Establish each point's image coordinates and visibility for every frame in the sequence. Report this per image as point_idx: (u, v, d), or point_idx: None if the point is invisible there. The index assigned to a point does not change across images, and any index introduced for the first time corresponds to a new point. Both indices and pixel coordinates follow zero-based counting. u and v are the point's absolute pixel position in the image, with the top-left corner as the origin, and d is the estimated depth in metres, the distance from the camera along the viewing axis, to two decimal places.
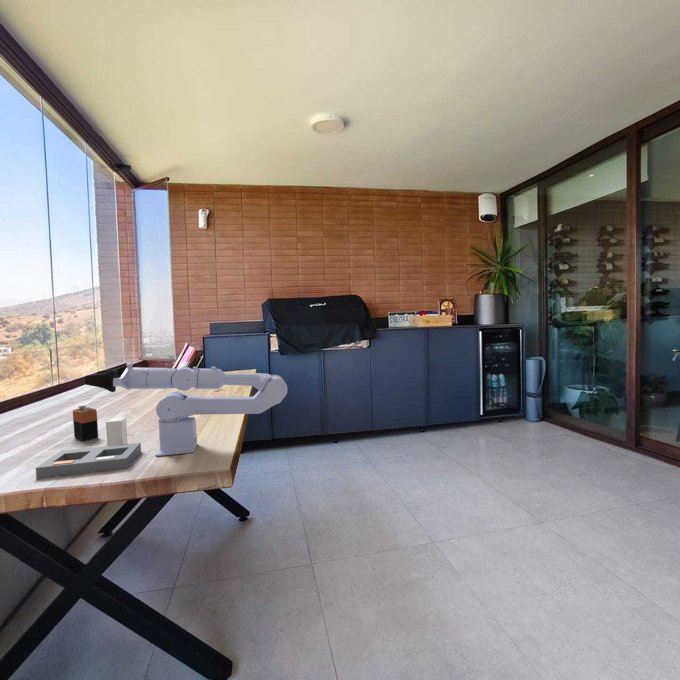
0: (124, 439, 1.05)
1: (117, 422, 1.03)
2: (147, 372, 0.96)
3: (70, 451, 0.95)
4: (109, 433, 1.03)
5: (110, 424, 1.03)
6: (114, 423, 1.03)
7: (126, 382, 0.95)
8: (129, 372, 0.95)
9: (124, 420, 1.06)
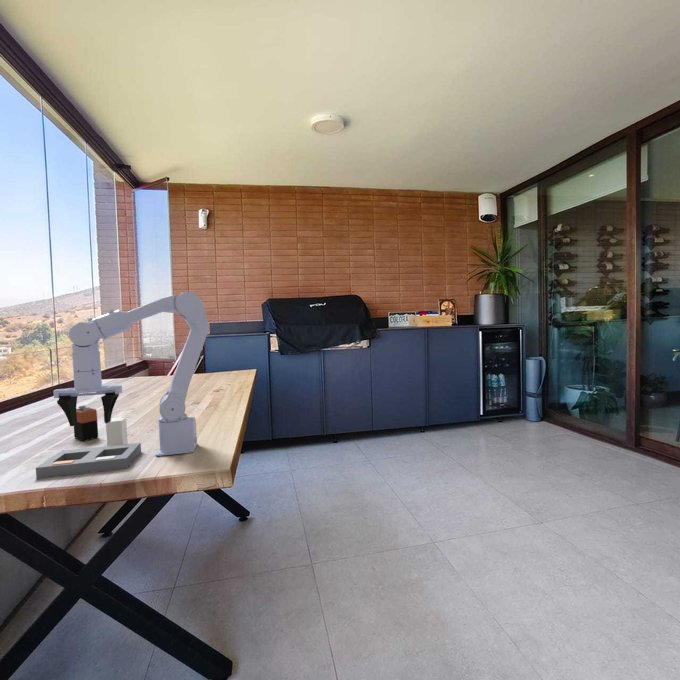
0: (124, 439, 1.05)
1: (117, 422, 1.03)
2: (93, 370, 0.90)
3: (70, 451, 0.95)
4: (109, 433, 1.03)
5: (109, 424, 1.03)
6: (114, 423, 1.03)
7: (102, 387, 0.93)
8: (95, 387, 0.90)
9: (124, 420, 1.06)
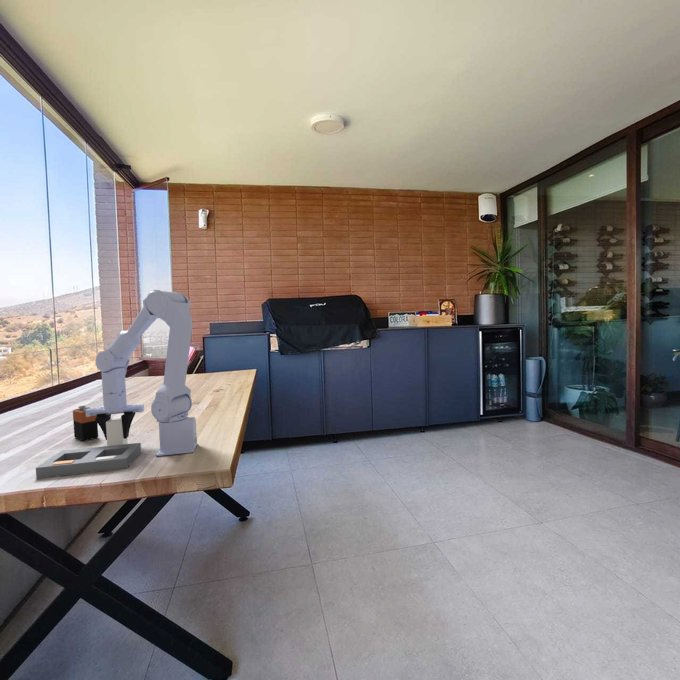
0: (124, 439, 1.05)
1: (117, 422, 1.03)
2: (120, 392, 1.03)
3: (70, 451, 0.95)
4: (109, 433, 1.03)
5: (109, 424, 1.03)
6: (114, 423, 1.03)
7: (127, 406, 1.06)
8: (121, 406, 1.04)
9: None
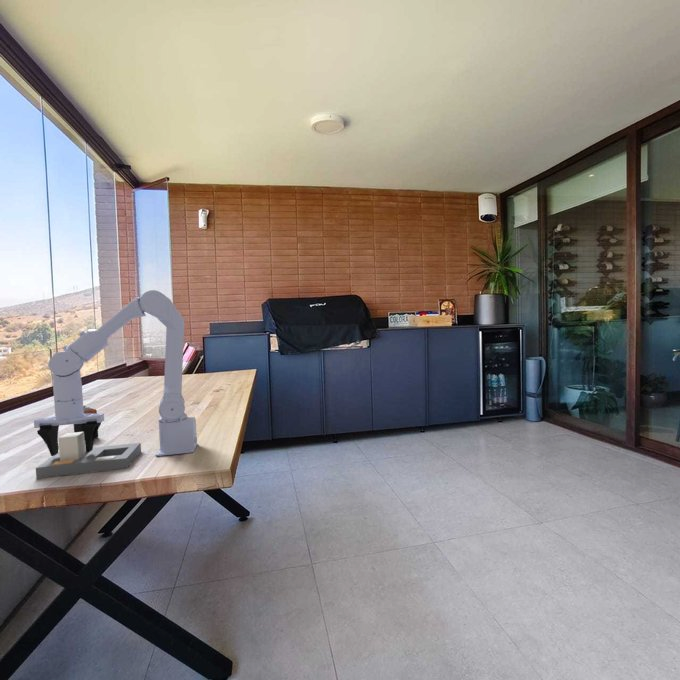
0: (81, 457, 0.92)
1: (72, 438, 0.90)
2: (74, 399, 0.89)
3: None
4: (62, 451, 0.89)
5: (63, 440, 0.89)
6: (68, 439, 0.89)
7: None
8: (76, 416, 0.90)
9: (81, 435, 0.92)
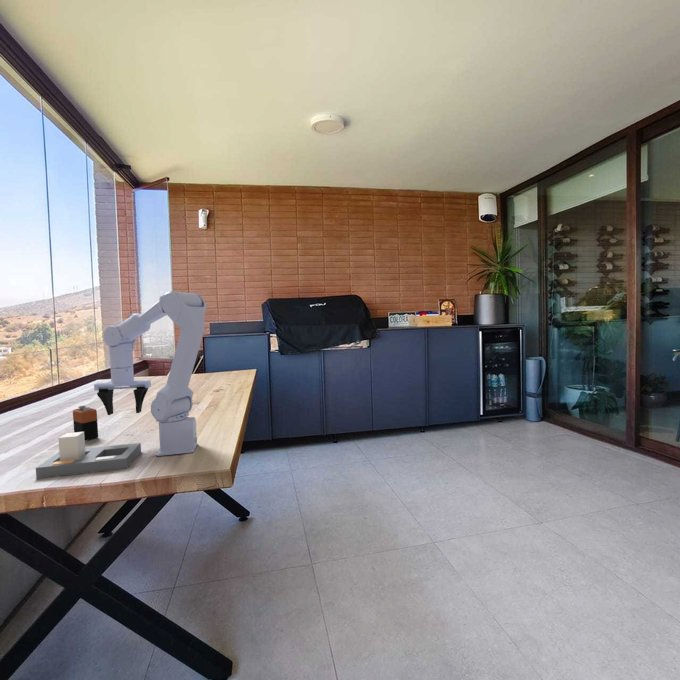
0: (81, 457, 0.92)
1: (72, 438, 0.90)
2: (127, 367, 1.04)
3: None
4: (62, 451, 0.89)
5: (63, 440, 0.89)
6: (68, 439, 0.89)
7: (134, 381, 1.07)
8: (128, 381, 1.05)
9: (81, 435, 0.92)
